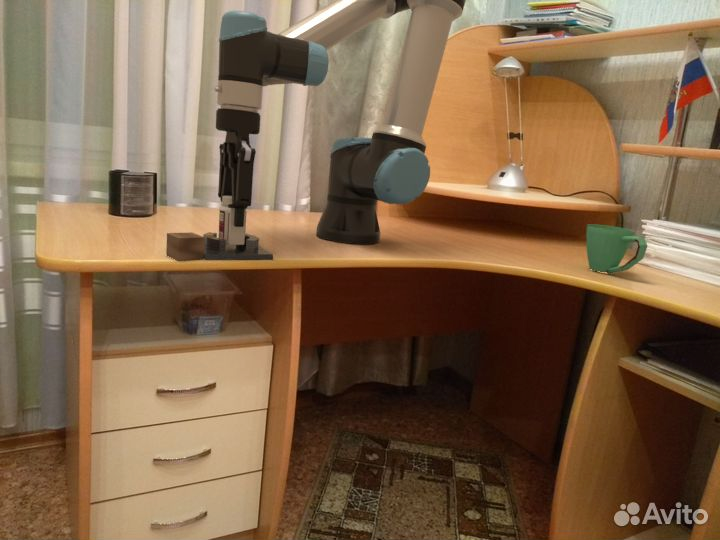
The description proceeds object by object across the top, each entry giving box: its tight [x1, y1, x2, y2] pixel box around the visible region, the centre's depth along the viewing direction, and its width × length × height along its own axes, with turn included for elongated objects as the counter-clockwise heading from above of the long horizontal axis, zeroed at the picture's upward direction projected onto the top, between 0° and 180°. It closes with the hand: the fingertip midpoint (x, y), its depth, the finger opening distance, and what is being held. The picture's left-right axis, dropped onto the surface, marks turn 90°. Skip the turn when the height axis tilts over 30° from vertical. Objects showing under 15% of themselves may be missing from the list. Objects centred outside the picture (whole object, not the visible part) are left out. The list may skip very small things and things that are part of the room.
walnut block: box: [165, 232, 205, 262], centre depth 92 cm, size 4×4×4 cm
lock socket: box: [202, 232, 274, 261], centre depth 100 cm, size 12×12×3 cm
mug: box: [585, 223, 648, 274], centre depth 120 cm, size 15×10×10 cm
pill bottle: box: [218, 196, 247, 245], centre depth 99 cm, size 5×5×8 cm
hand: (231, 240), depth 99 cm, fingers closed on pill bottle, 5 cm apart
